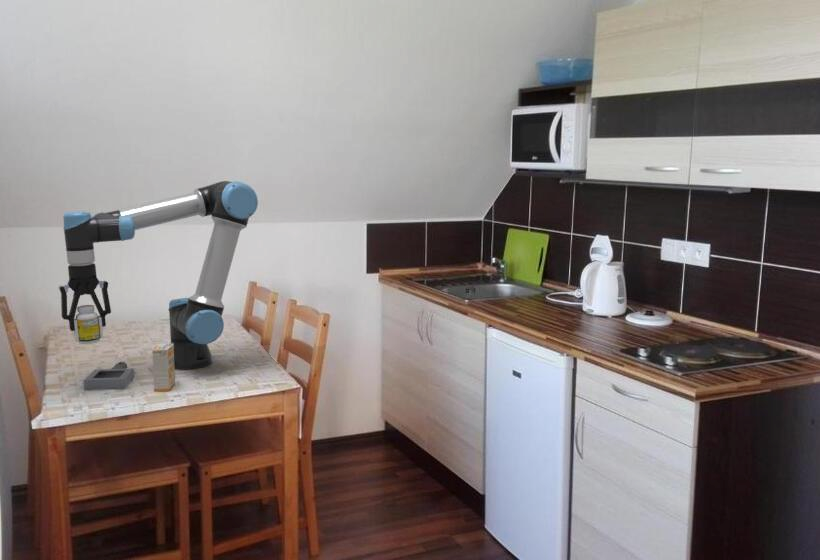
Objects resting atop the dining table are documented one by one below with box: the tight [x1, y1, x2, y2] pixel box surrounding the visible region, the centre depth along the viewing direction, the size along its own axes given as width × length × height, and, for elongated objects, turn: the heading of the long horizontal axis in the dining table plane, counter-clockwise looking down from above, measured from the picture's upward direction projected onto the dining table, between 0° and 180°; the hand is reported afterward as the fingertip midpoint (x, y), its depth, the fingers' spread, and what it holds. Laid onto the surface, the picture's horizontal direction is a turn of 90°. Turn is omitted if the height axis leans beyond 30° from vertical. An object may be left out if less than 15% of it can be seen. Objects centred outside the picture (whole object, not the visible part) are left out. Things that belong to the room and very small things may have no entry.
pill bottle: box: [75, 304, 101, 345], centre depth 225 cm, size 6×6×11 cm
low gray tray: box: [83, 361, 135, 391], centre depth 240 cm, size 22×12×3 cm, turn 7°
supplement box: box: [151, 343, 176, 392], centre depth 230 cm, size 8×5×13 cm, turn 5°
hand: (89, 338), depth 226 cm, fingers closed on pill bottle, 6 cm apart
